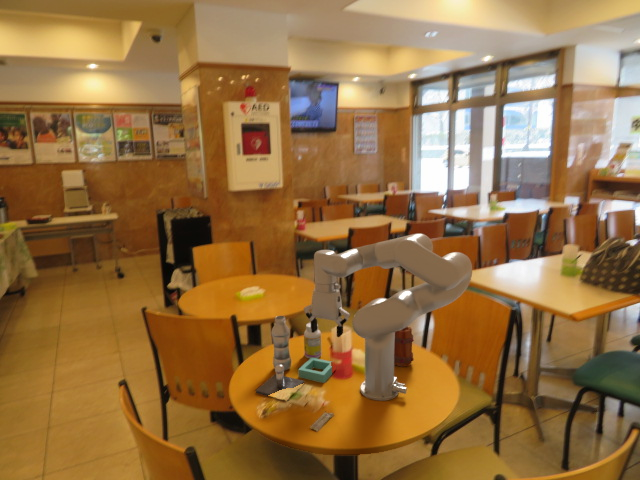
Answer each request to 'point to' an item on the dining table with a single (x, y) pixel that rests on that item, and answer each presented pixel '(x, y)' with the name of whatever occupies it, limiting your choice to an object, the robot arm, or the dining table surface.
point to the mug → (403, 347)
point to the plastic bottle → (281, 343)
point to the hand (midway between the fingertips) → (326, 333)
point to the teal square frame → (314, 375)
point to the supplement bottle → (312, 342)
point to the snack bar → (321, 421)
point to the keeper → (278, 382)
